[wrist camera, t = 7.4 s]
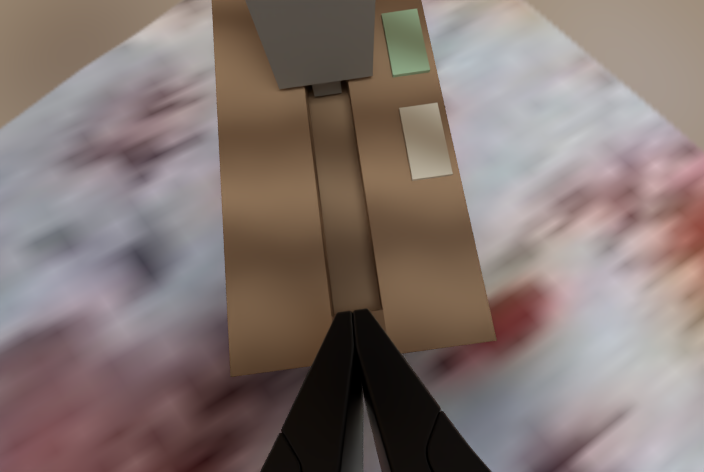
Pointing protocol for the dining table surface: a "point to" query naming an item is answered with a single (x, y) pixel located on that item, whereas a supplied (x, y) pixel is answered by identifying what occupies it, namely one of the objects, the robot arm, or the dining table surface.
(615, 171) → the dining table surface
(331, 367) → the robot arm
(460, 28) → the dining table surface
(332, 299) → the wooden slotted board
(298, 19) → the switch handle
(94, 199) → the dining table surface
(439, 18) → the dining table surface
